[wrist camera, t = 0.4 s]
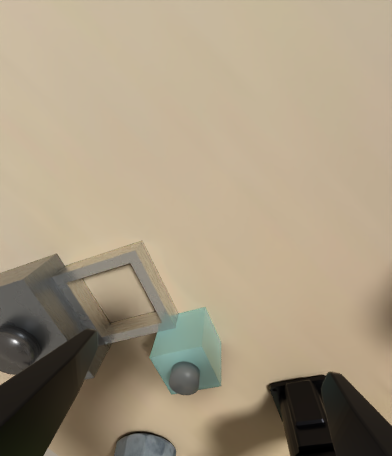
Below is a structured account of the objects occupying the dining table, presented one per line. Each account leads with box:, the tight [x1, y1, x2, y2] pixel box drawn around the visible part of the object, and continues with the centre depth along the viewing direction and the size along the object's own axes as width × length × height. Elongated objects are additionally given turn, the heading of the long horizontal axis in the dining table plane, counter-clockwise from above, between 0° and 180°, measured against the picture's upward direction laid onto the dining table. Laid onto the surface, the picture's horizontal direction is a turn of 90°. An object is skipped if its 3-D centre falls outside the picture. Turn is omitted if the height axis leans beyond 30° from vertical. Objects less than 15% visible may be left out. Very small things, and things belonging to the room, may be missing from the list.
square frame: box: [0, 241, 179, 380], centre depth 23 cm, size 12×17×6 cm
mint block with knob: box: [149, 307, 221, 395], centre depth 24 cm, size 5×5×6 cm
